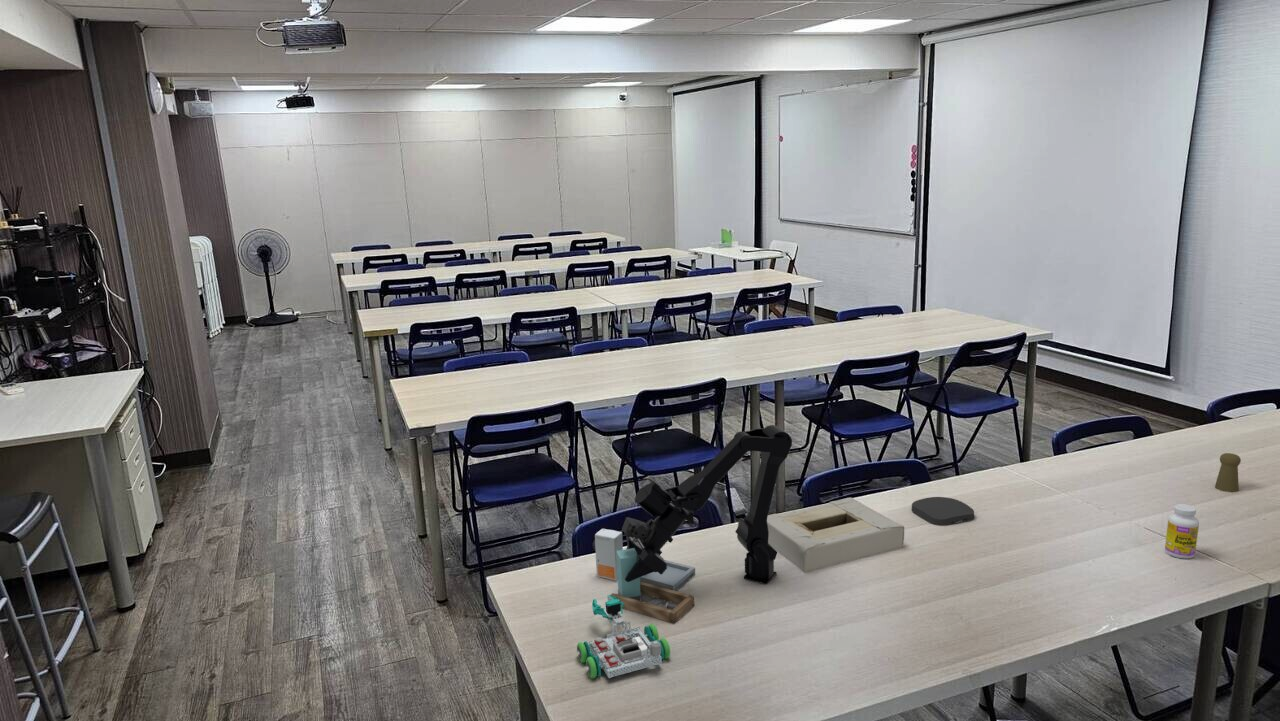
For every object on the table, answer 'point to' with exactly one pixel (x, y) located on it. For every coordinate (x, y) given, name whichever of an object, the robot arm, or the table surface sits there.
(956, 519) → the media streaming box
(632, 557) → the tall teal block
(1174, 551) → the supplement bottle
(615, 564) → the skincare box
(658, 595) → the slot rail
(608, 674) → the robot kit
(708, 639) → the table surface
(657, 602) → the set of grey tiles
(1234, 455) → the cork
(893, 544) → the box
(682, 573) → the tray
